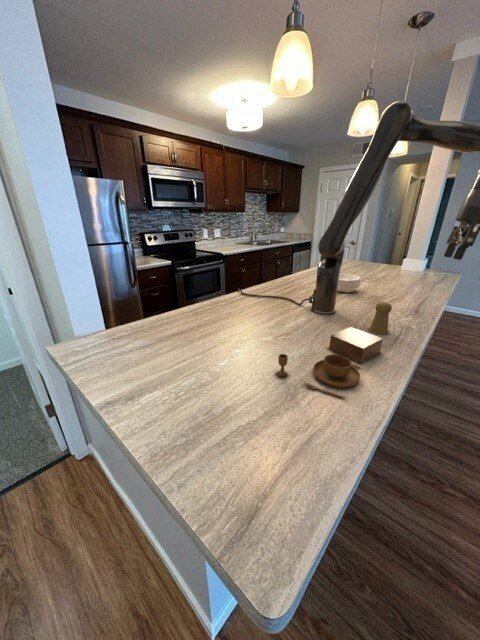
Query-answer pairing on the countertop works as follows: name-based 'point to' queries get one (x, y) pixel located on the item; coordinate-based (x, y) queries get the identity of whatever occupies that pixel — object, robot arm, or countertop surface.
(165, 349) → the countertop surface
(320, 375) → the place setting
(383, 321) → the cork
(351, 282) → the paper bowls
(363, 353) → the walnut block
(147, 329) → the countertop surface
